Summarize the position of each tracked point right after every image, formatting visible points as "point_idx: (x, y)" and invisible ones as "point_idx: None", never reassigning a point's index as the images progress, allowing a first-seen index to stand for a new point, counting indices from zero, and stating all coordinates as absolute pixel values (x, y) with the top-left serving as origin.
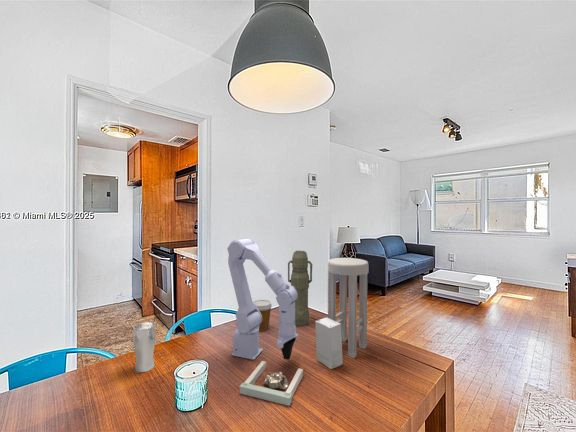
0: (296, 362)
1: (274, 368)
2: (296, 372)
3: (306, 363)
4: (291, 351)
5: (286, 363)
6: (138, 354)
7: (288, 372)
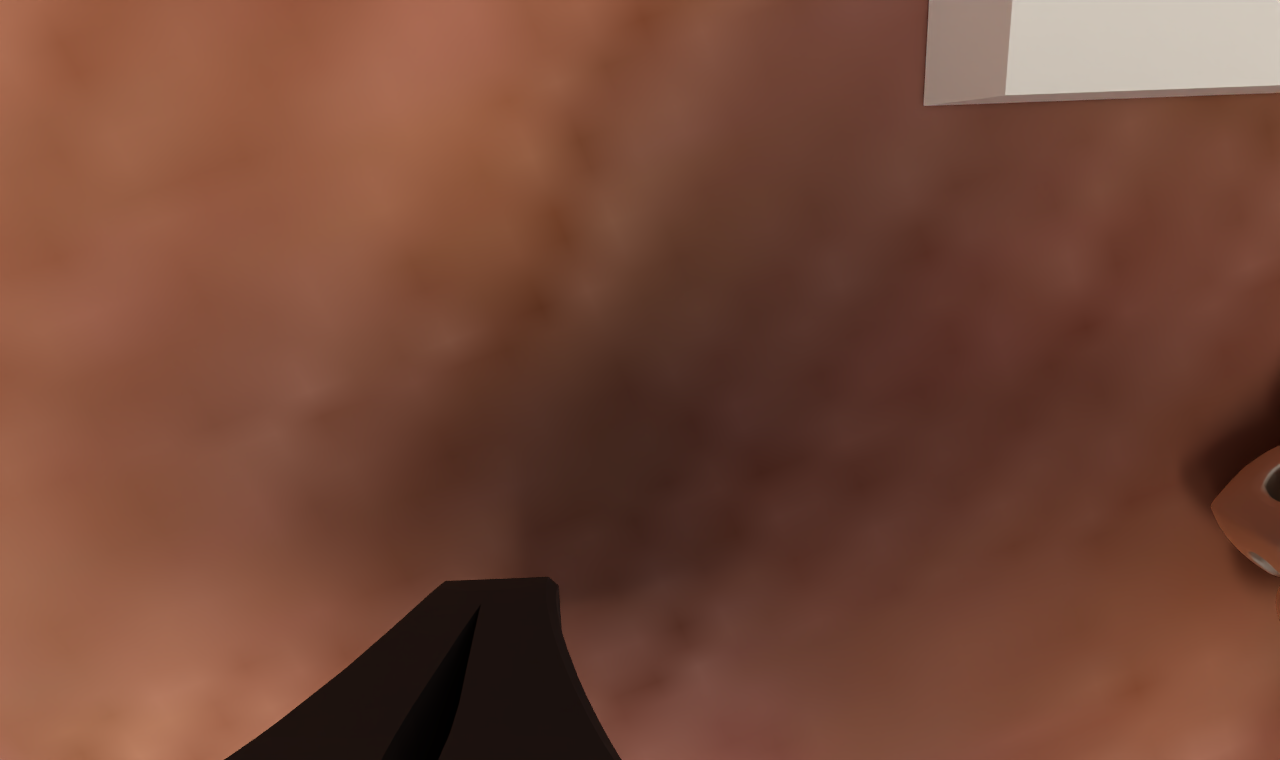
0: (371, 368)
1: (836, 745)
2: (1268, 81)
3: (284, 74)
4: (373, 672)
5: None
6: None
7: (894, 398)
